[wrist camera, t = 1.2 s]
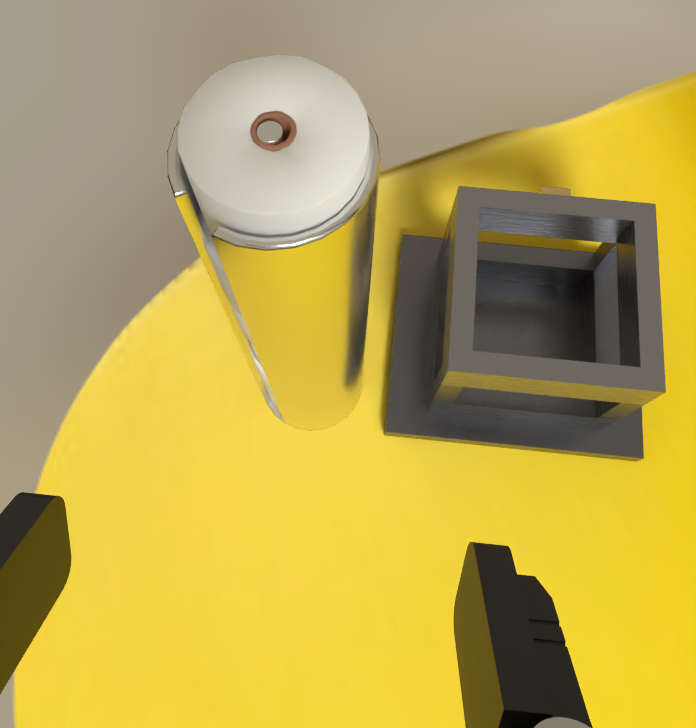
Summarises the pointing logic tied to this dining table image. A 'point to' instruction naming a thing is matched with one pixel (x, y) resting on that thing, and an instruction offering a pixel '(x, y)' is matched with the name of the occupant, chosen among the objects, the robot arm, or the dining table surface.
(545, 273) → the grey square holder
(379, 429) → the dining table surface
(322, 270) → the silver long cylinder
